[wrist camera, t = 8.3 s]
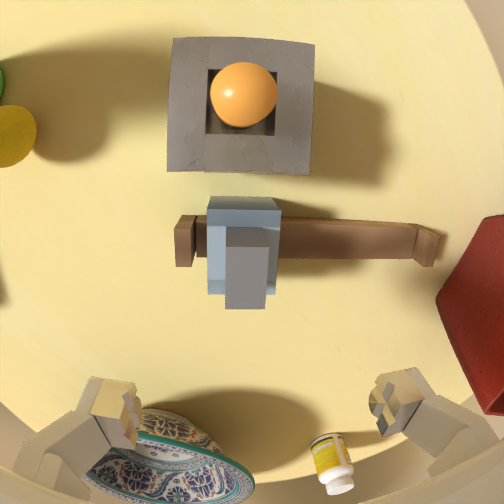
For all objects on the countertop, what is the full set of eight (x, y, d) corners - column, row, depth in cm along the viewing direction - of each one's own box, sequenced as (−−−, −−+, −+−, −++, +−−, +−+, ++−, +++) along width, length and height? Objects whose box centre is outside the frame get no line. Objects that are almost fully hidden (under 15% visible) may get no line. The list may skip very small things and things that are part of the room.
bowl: (125, 334, 29) (97, 399, 20) (286, 424, 36) (298, 480, 27) (62, 417, 34) (44, 460, 25) (186, 477, 41) (184, 519, 32)
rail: (182, 215, 25) (174, 228, 21) (417, 224, 27) (439, 236, 23) (183, 248, 26) (175, 266, 22) (411, 251, 28) (432, 266, 24)
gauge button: (216, 82, 16) (212, 61, 11) (265, 84, 16) (278, 64, 11) (214, 128, 17) (208, 123, 12) (263, 130, 17) (276, 125, 12)
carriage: (211, 196, 24) (201, 225, 16) (271, 197, 24) (293, 227, 16) (211, 268, 26) (204, 325, 18) (267, 268, 27) (283, 324, 18)
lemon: (60, 119, 20) (6, 117, 13) (37, 171, 22) (-17, 187, 14) (26, 98, 19) (-27, 94, 11) (5, 148, 20) (-47, 158, 13)
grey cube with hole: (190, 69, 20) (173, 38, 13) (288, 73, 21) (314, 44, 13) (186, 164, 23) (166, 175, 16) (283, 167, 24) (308, 178, 16)
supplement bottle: (304, 449, 39) (316, 498, 30) (319, 432, 38) (335, 484, 28) (332, 449, 40) (346, 494, 31) (348, 432, 39) (366, 480, 29)
